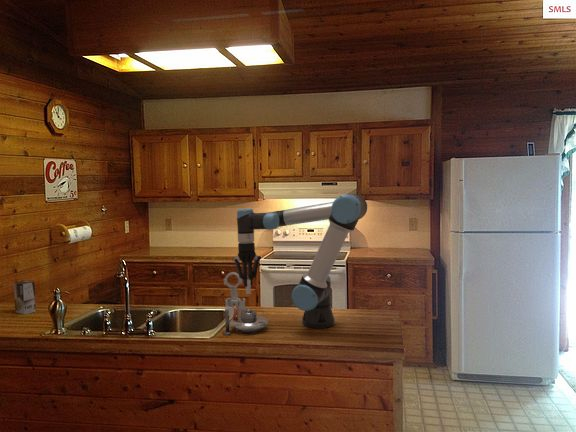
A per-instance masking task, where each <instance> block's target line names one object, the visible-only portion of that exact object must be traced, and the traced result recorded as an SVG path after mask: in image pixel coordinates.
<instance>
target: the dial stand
mask: <svg viewBox="0 0 576 432" xmlns="http://www.w3.org/2000/svg"><path fill="white" fill-rule="evenodd" d="M224 308H225V309H224V310H225V312H224V313H225V314H224V316H225V320H224V321H225V331H222V336H230V335H233V331H232V330H230V317H231V316H233V315H234V308H233V307H231V306H229V307H226V306H225V307H224Z"/></svg>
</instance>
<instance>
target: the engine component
mask: <svg viewBox="0 0 576 432" xmlns="http://www.w3.org/2000/svg"><path fill="white" fill-rule="evenodd" d="M230 276H235V277H236V278H237V280H238V281H237V283H236V284H235V285H233V284H230V283H229V280H228V279H229V277H230ZM223 284H224V286H227V287H228V288H229V289H230V296H231V297H228V298H226V299H225V307H229V306H231V307H233V306H238V315H241V312H242V311H245V310H246V298H244V297H243V298H242V299H241V298H240V297H239V294H238V287H239V286H240V285H241V284H243V279H241V278H239V274H238V272H234V271H232V272H229V273H227V274H226V276H225V277H224V278H223Z"/></svg>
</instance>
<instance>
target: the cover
mask: <svg viewBox="0 0 576 432" xmlns="http://www.w3.org/2000/svg"><path fill="white" fill-rule="evenodd" d="M257 316H258V313H257V311H256V310H253V309H252V308H245V311H242V312H241V314H240V317H241V322H243V323H253V322H256V321H257Z"/></svg>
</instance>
